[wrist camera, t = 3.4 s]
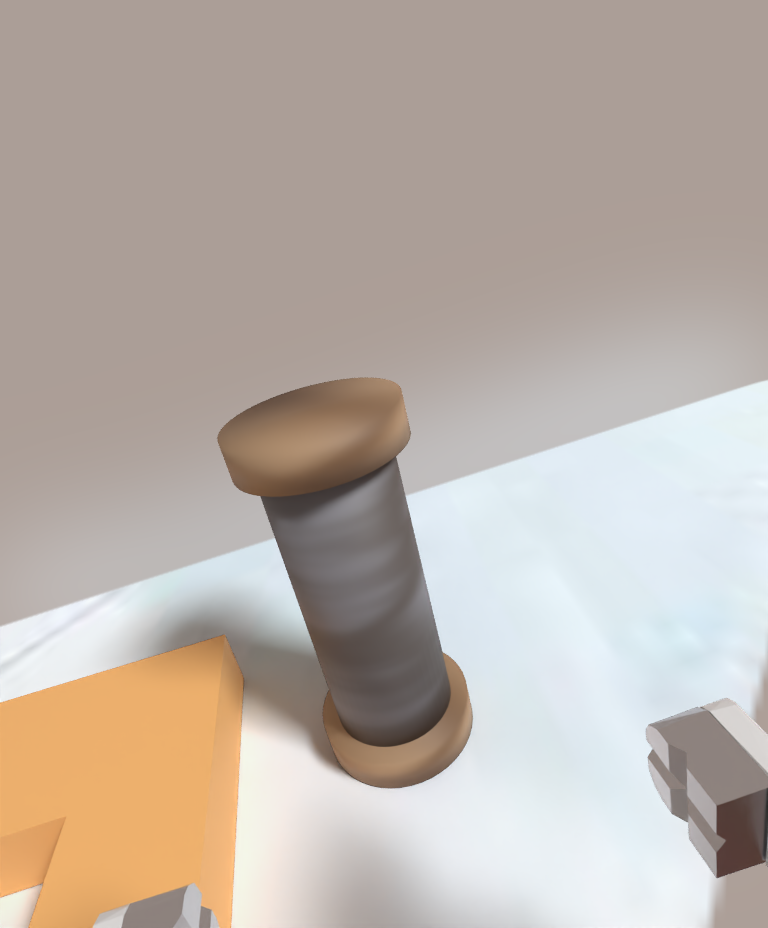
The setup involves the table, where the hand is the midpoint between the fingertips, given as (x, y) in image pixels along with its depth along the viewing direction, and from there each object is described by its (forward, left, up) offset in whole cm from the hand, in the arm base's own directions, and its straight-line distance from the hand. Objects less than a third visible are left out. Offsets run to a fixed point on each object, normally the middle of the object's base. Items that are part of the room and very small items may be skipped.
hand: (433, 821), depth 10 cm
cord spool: (+8, +10, -11) cm, 17 cm away
